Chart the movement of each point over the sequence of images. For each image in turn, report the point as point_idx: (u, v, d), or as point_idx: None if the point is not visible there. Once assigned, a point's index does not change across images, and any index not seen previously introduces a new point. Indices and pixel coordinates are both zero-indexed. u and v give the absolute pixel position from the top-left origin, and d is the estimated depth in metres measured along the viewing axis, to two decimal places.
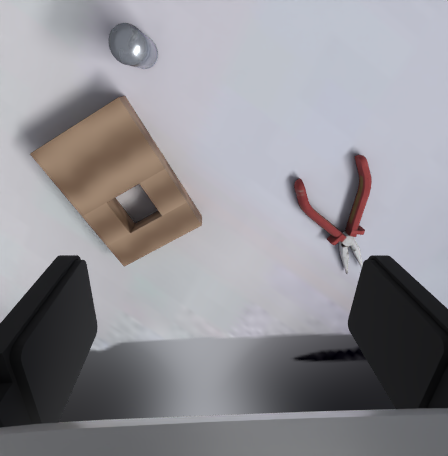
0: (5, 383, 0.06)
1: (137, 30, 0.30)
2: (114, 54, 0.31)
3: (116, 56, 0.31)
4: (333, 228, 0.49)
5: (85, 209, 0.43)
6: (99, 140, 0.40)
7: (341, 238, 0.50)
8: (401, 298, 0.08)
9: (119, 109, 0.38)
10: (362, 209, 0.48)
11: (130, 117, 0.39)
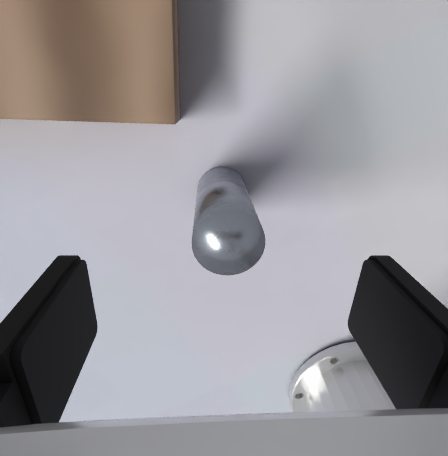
0: (5, 383, 0.06)
1: (237, 271, 0.16)
2: (228, 212, 0.14)
3: (223, 213, 0.14)
4: None
5: None
6: (114, 13, 0.16)
7: None
8: (401, 298, 0.08)
9: (153, 109, 0.17)
10: None
11: (129, 120, 0.18)
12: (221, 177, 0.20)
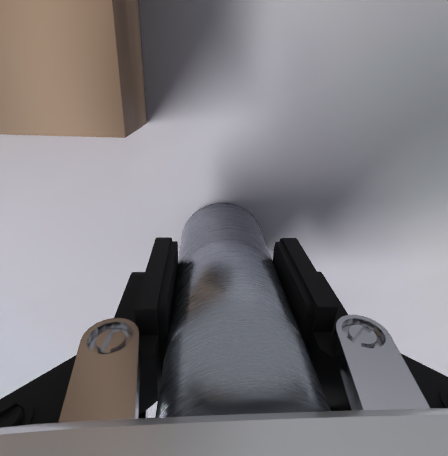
0: (152, 335, 0.07)
1: None
2: (247, 402, 0.05)
3: (233, 404, 0.05)
4: None
5: None
6: None
7: None
8: (290, 273, 0.09)
9: (76, 106, 0.08)
10: None
11: (25, 129, 0.08)
12: (222, 235, 0.10)
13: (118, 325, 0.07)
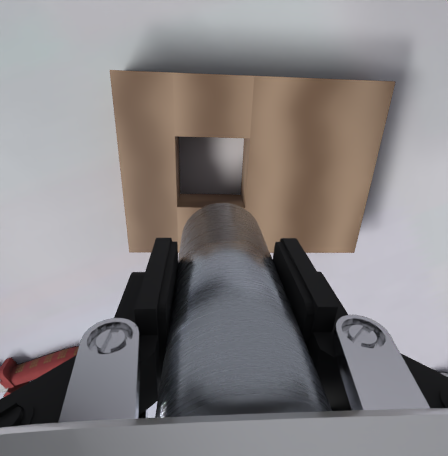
0: (152, 335, 0.07)
1: None
2: (248, 403, 0.05)
3: (234, 405, 0.05)
4: (27, 379, 0.34)
5: (260, 93, 0.22)
6: (333, 197, 0.25)
7: (6, 384, 0.34)
8: (290, 273, 0.09)
9: (343, 245, 0.27)
10: None
11: (326, 251, 0.28)
12: (223, 234, 0.10)
13: (118, 325, 0.07)
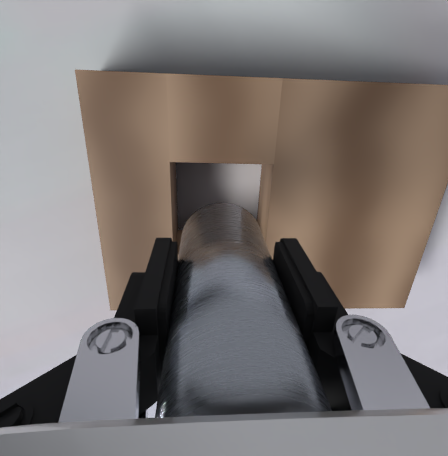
0: (152, 335, 0.07)
1: None
2: (248, 404, 0.05)
3: (233, 406, 0.05)
4: None
5: (291, 102, 0.15)
6: (382, 240, 0.19)
7: None
8: (290, 273, 0.09)
9: (390, 299, 0.21)
10: None
11: (368, 306, 0.21)
12: (222, 234, 0.10)
13: (118, 325, 0.07)
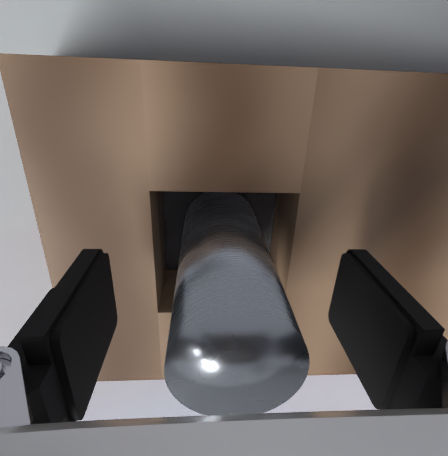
0: (45, 365, 0.07)
1: (253, 411, 0.08)
2: (237, 319, 0.07)
3: (226, 321, 0.07)
4: None
5: (329, 104, 0.10)
6: (442, 290, 0.14)
7: None
8: (372, 289, 0.09)
9: None
10: None
11: None
12: (220, 213, 0.12)
13: (0, 355, 0.06)
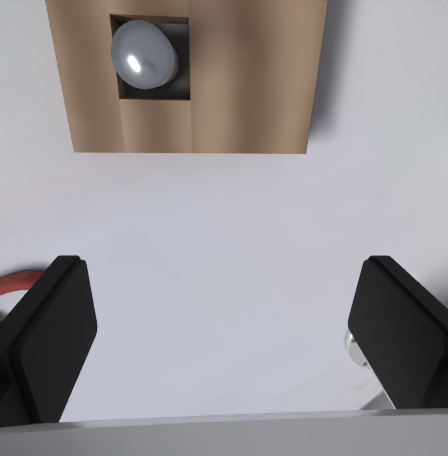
0: (5, 383, 0.06)
1: (152, 85, 0.19)
2: (137, 23, 0.18)
3: (133, 24, 0.18)
4: None
5: None
6: (280, 88, 0.25)
7: None
8: (401, 298, 0.08)
9: (294, 145, 0.27)
10: None
11: (277, 151, 0.27)
12: None
13: None
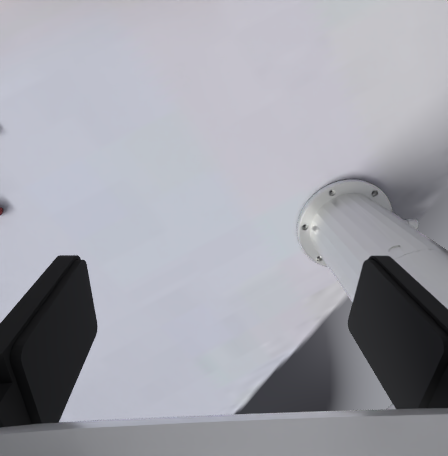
0: (5, 383, 0.06)
1: None
2: None
3: None
4: None
5: None
6: None
7: None
8: (401, 298, 0.08)
9: None
10: None
11: None
12: None
13: None
